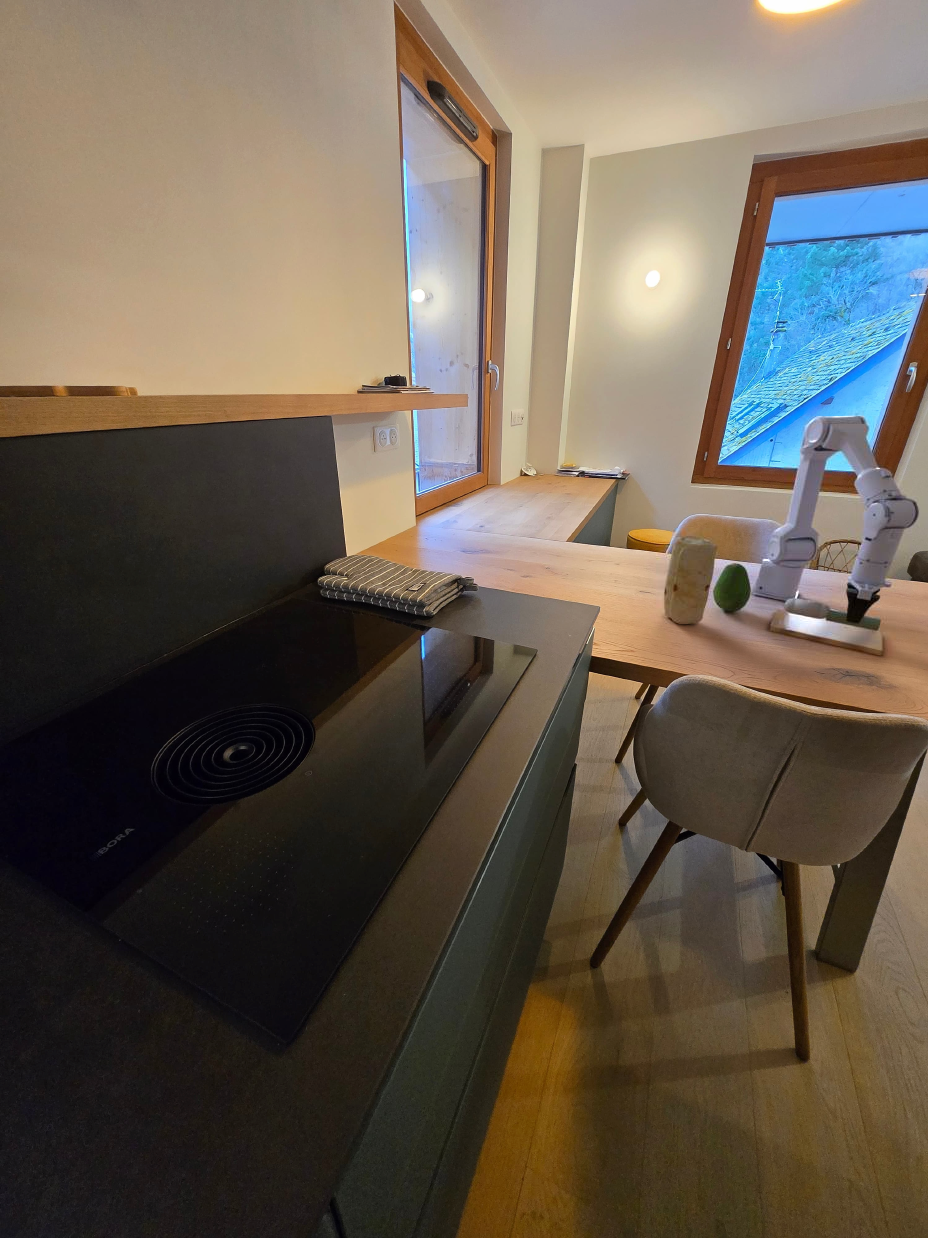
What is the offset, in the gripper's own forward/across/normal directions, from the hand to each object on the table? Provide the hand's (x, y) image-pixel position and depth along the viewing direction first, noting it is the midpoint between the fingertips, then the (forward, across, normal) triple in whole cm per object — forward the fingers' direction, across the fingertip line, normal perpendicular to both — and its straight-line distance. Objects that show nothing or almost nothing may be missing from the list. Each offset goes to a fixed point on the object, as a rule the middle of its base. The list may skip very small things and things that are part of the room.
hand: (852, 619), depth 106 cm
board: (+4, 0, +4) cm, 6 cm away
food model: (+5, -11, +32) cm, 34 cm away
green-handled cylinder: (+1, 0, +4) cm, 4 cm away
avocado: (+5, +1, +24) cm, 24 cm away
